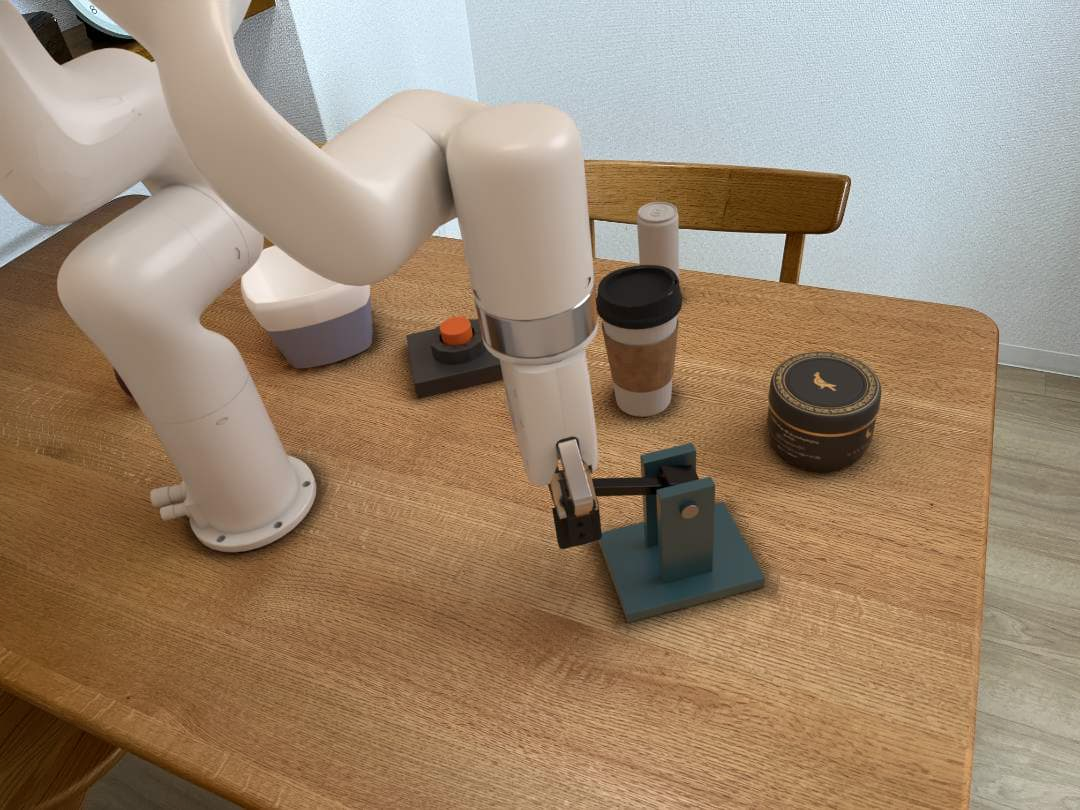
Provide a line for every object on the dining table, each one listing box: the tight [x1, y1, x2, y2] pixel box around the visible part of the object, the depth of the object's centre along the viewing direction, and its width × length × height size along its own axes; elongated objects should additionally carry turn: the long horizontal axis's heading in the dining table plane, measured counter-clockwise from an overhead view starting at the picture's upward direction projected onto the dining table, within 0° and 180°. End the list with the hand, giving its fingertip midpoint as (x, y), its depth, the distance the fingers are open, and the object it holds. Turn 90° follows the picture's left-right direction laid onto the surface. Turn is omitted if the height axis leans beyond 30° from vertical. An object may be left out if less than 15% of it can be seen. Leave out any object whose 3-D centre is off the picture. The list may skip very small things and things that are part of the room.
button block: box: [406, 318, 503, 399], centre depth 95 cm, size 12×10×4 cm
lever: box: [547, 465, 700, 508], centre depth 63 cm, size 12×5×2 cm, turn 103°
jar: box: [766, 351, 882, 472], centre depth 77 cm, size 10×10×8 cm
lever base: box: [598, 442, 766, 624], centre depth 67 cm, size 12×9×12 cm
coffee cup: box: [596, 264, 683, 418], centre depth 83 cm, size 8×8×15 cm
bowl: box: [240, 245, 374, 369], centre depth 100 cm, size 15×15×11 cm
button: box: [439, 316, 473, 346], centre depth 94 cm, size 4×4×2 cm
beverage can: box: [636, 201, 680, 280], centre depth 98 cm, size 5×5×12 cm
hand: (564, 494), depth 62 cm, fingers open, 9 cm apart
